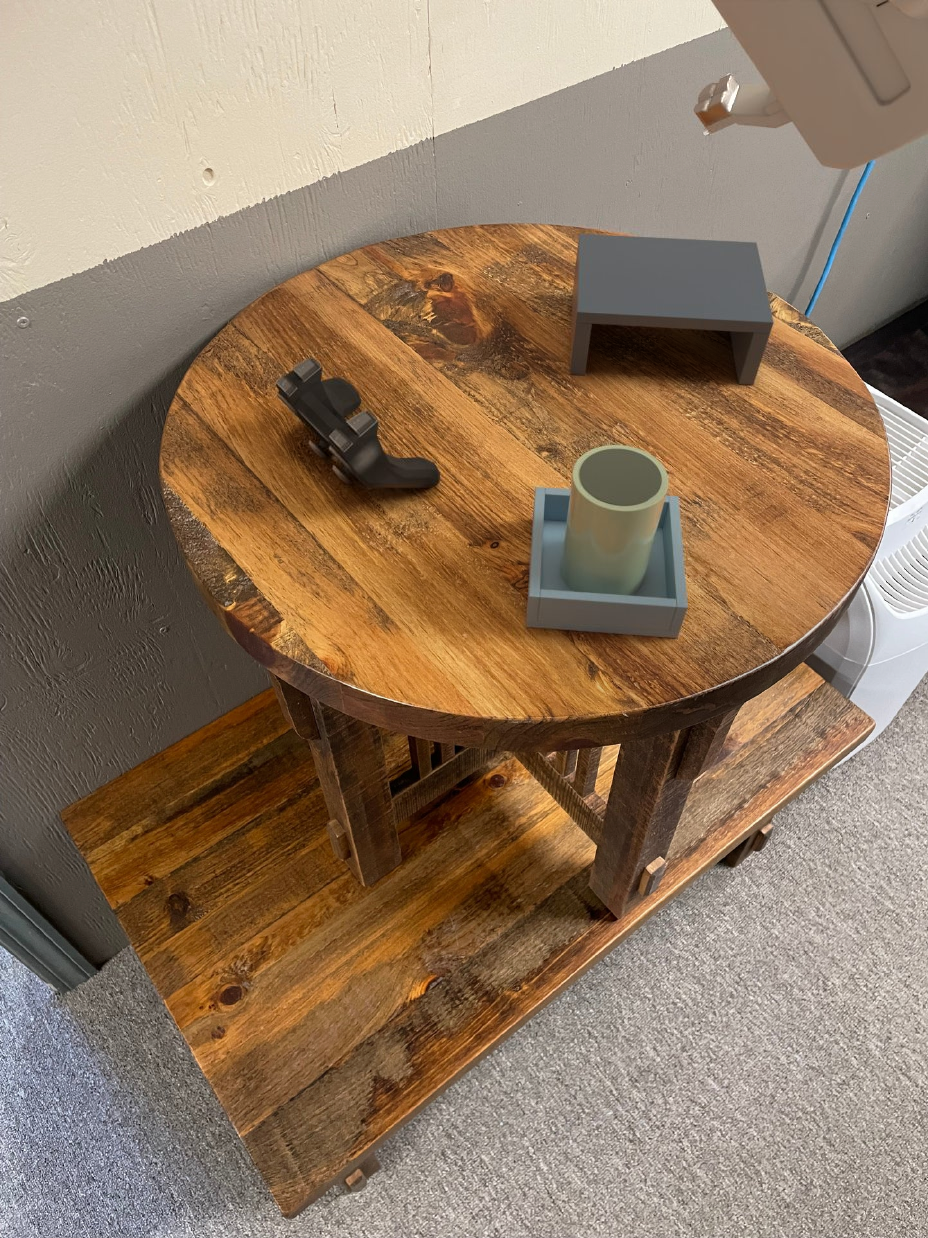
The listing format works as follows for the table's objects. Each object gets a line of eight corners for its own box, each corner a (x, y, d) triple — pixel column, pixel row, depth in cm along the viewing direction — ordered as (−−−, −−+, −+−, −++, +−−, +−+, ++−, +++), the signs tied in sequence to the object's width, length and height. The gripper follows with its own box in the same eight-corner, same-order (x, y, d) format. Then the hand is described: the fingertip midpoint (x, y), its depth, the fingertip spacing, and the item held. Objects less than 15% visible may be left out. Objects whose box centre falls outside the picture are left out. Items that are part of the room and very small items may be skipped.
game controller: (302, 437, 84) (241, 380, 75) (352, 387, 83) (296, 323, 75) (397, 536, 76) (340, 485, 67) (452, 481, 75) (402, 422, 67)
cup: (643, 540, 71) (666, 446, 63) (646, 605, 67) (671, 513, 59) (560, 535, 71) (573, 440, 63) (558, 598, 67) (571, 506, 59)
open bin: (669, 528, 73) (678, 495, 70) (677, 638, 66) (688, 607, 63) (532, 518, 74) (535, 486, 71) (525, 627, 67) (528, 596, 64)
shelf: (739, 303, 93) (756, 242, 88) (753, 385, 85) (774, 322, 79) (572, 295, 94) (578, 233, 89) (569, 374, 86) (577, 311, 80)
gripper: (1060, 24, 37) (776, 141, 48) (847, -526, 26) (534, -206, 37) (1027, 141, 36) (743, 234, 47) (787, -379, 24) (482, -93, 35)
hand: (650, 40), depth 42 cm, fingers open, 8 cm apart
